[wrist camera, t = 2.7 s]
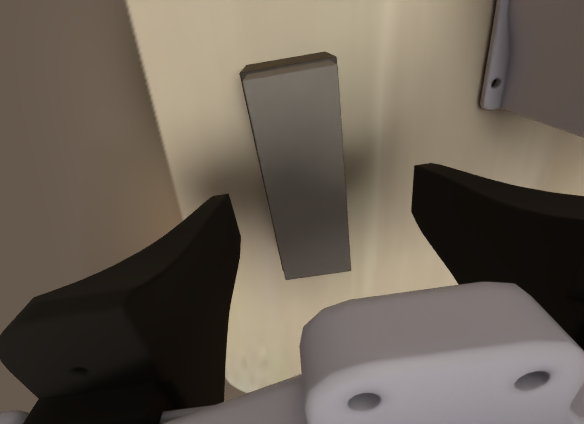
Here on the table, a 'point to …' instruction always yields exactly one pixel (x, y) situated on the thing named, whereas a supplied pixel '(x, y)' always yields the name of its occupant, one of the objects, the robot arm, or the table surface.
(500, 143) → the table surface
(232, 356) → the table surface
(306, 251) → the grey rectangular block
